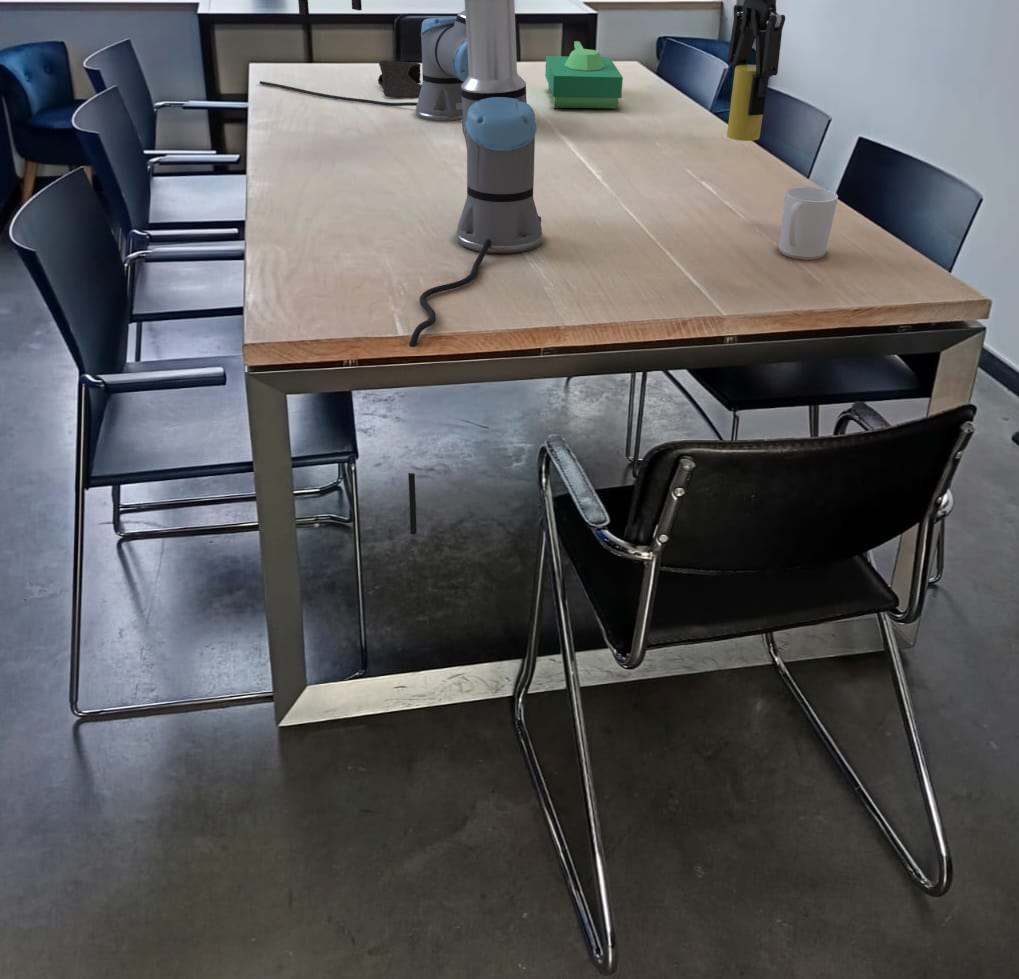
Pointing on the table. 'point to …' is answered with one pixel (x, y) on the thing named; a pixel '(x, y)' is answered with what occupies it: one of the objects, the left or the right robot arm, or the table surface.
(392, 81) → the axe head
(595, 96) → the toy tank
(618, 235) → the table surface
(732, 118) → the canister
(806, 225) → the mug
